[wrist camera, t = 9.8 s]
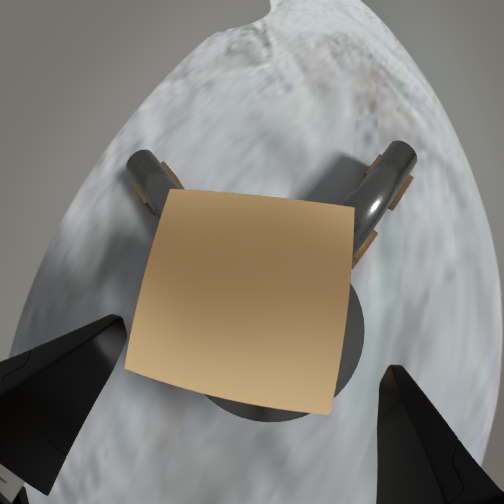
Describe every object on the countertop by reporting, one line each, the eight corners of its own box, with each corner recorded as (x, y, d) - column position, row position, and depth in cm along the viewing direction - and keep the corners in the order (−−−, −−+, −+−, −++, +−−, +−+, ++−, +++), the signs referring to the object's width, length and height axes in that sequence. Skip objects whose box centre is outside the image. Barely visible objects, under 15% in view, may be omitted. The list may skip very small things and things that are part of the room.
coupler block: (301, 371, 16) (333, 420, 5) (228, 358, 17) (119, 371, 5) (312, 299, 18) (358, 204, 6) (242, 289, 19) (167, 185, 7)
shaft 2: (341, 283, 19) (356, 265, 14) (304, 255, 20) (309, 230, 15) (406, 188, 20) (426, 156, 16) (375, 166, 21) (389, 131, 17)
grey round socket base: (343, 428, 15) (354, 443, 12) (170, 396, 17) (149, 403, 14) (368, 257, 19) (382, 240, 16) (204, 235, 21) (191, 215, 18)
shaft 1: (239, 255, 20) (226, 230, 16) (203, 283, 20) (181, 266, 16) (170, 172, 23) (150, 140, 19) (141, 195, 23) (117, 166, 19)
